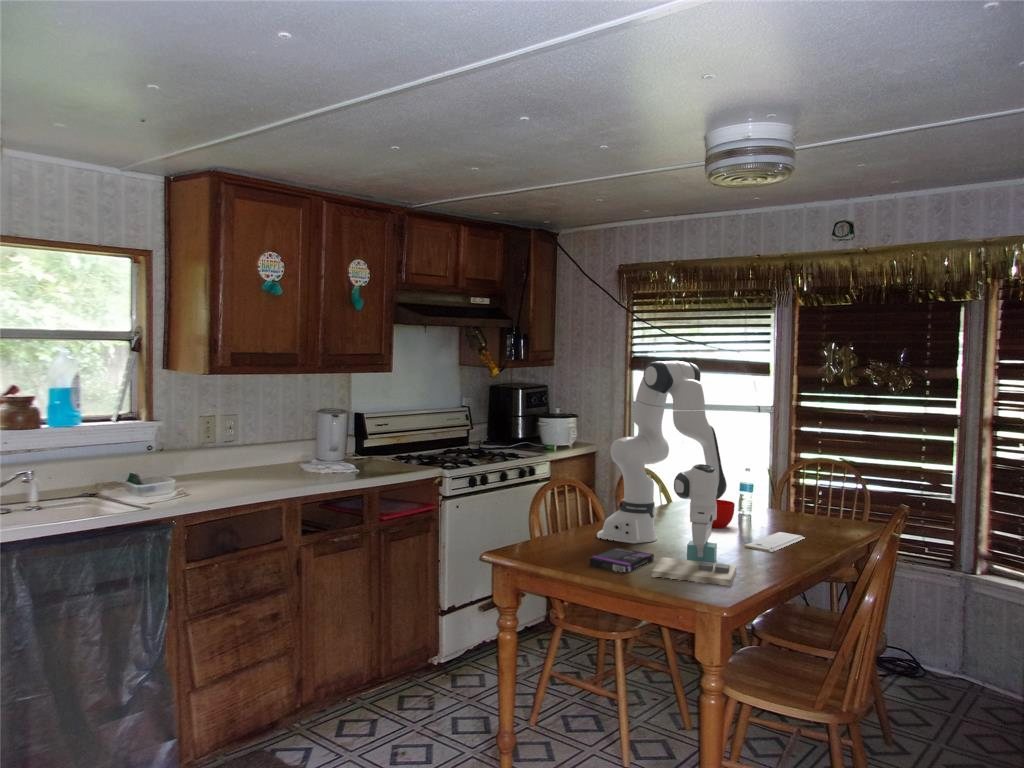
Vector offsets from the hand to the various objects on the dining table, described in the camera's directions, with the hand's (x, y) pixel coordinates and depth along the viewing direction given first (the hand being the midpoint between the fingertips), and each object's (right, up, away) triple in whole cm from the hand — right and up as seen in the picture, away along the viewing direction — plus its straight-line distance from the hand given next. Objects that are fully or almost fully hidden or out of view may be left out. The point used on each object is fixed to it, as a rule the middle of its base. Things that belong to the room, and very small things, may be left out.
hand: (702, 553), depth 269 cm
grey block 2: (+2, -1, -19) cm, 19 cm away
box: (-28, -3, -4) cm, 28 cm away
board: (-6, -3, -16) cm, 17 cm away
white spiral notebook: (+35, -3, +29) cm, 46 cm away
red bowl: (+20, -1, +58) cm, 61 cm away
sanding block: (0, -3, 0) cm, 3 cm away
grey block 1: (-3, -1, -17) cm, 17 cm away
